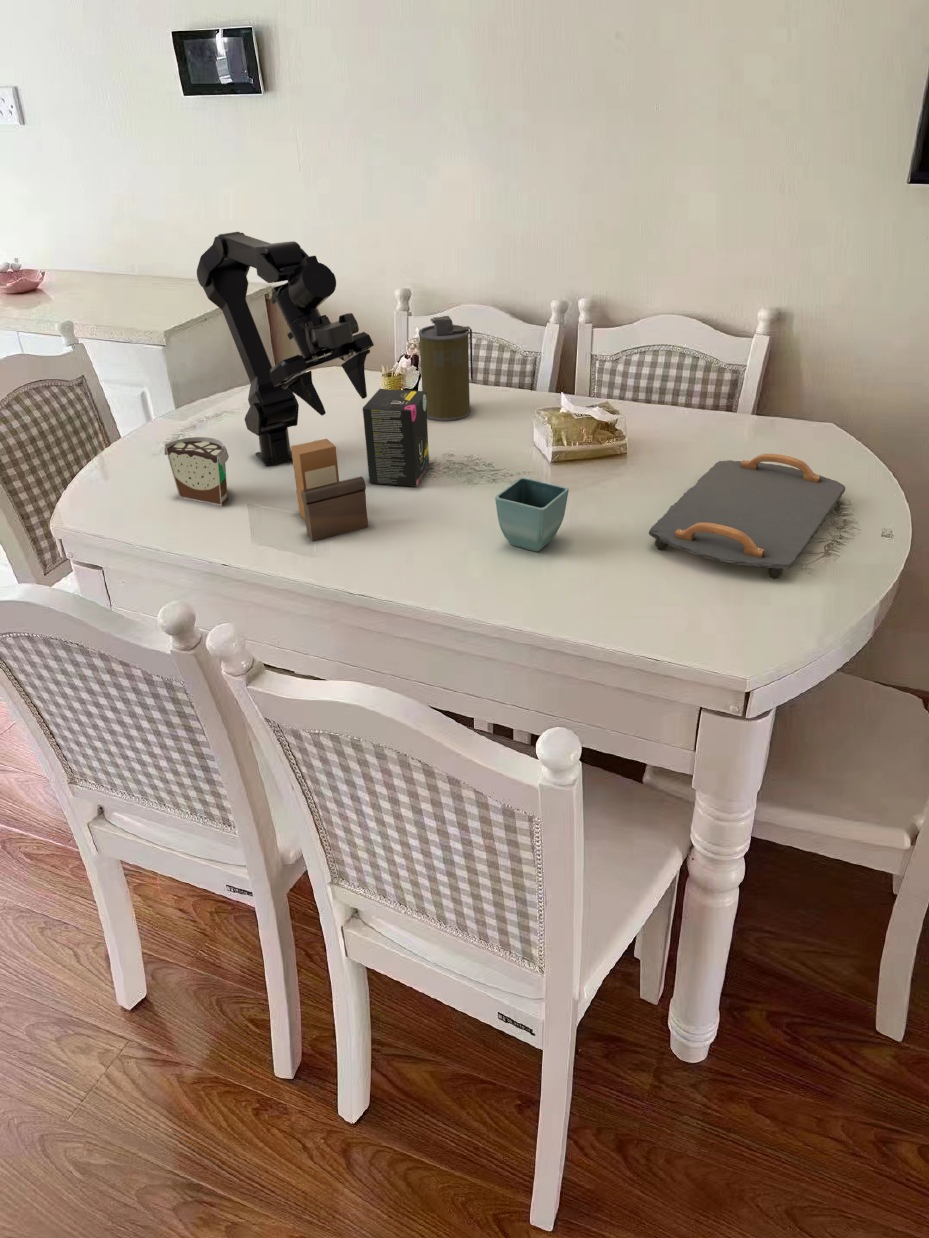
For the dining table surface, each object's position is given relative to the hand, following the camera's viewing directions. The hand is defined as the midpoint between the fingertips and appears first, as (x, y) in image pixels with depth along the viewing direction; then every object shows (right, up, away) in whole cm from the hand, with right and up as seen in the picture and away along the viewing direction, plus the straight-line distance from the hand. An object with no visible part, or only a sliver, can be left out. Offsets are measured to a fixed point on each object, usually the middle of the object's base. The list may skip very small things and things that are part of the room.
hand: (344, 406), depth 163 cm
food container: (-25, -14, +11) cm, 31 cm away
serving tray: (+67, -20, -4) cm, 70 cm away
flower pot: (+31, -24, -8) cm, 40 cm away
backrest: (-1, -21, -3) cm, 22 cm away
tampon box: (+8, -9, +17) cm, 21 cm away
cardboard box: (-4, -18, +3) cm, 19 cm away
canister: (+17, +8, +44) cm, 47 cm away
